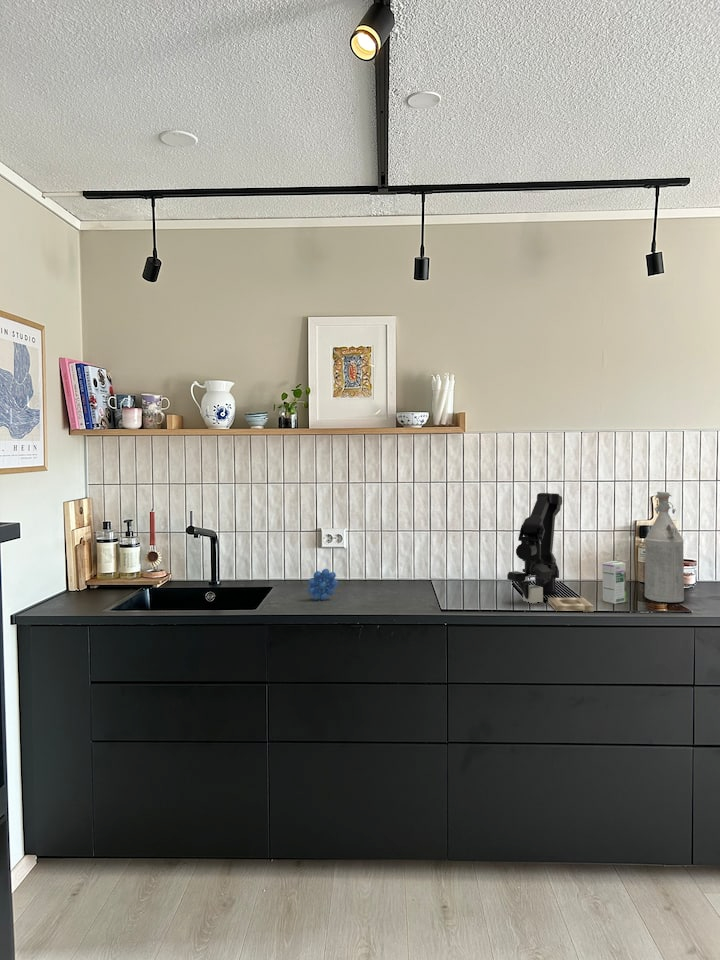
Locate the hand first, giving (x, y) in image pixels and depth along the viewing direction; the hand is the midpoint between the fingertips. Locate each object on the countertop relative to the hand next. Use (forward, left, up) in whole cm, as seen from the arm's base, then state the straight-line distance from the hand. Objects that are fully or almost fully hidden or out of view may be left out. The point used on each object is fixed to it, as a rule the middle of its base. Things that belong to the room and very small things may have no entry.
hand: (532, 598), depth 232 cm
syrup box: (-26, +13, -1) cm, 29 cm away
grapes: (+69, -37, -1) cm, 78 cm away
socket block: (-6, +13, -1) cm, 14 cm away
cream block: (0, 0, -1) cm, 1 cm away
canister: (-45, +18, -2) cm, 48 cm away
